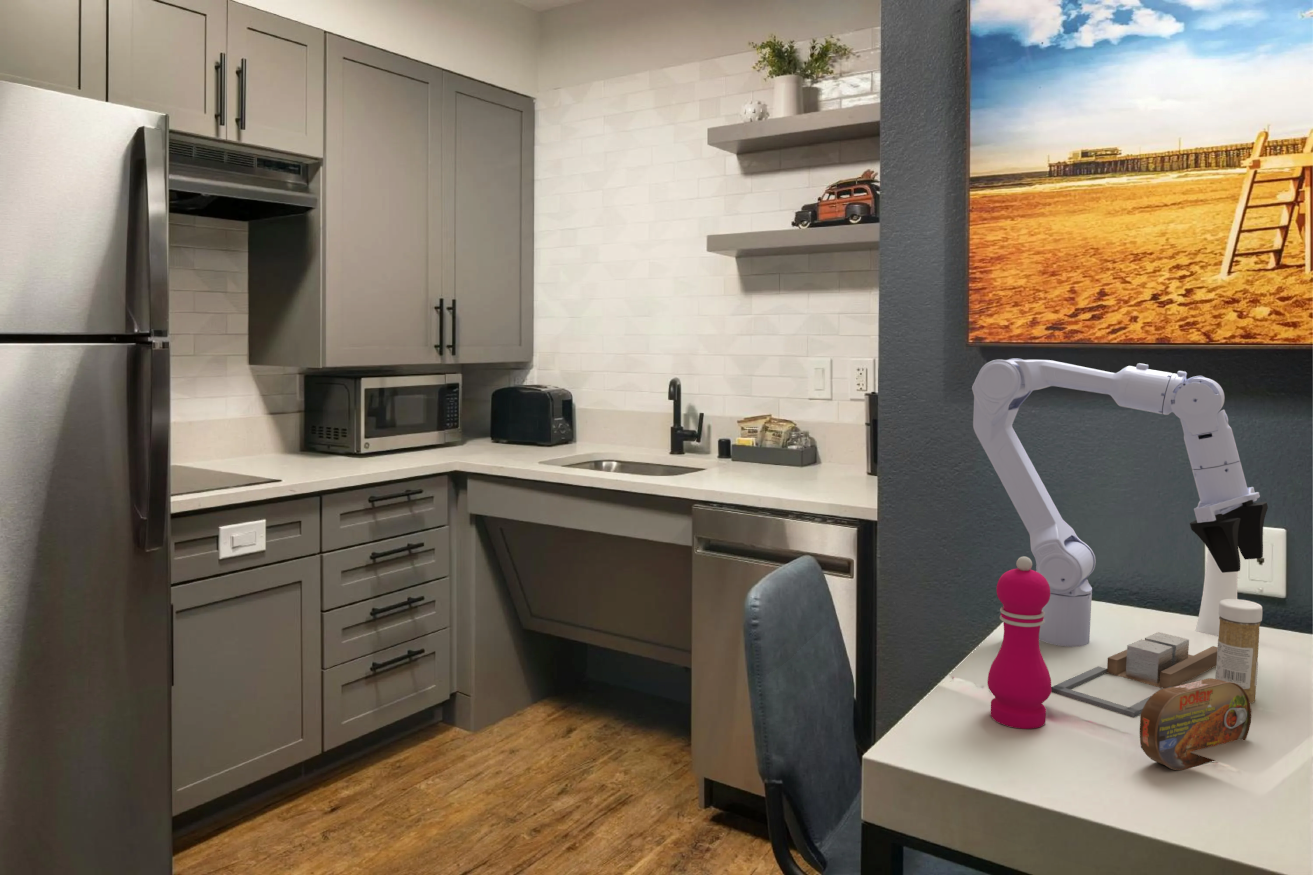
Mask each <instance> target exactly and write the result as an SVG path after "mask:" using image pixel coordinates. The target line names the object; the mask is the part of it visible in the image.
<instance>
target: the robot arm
mask: <svg viewBox="0 0 1313 875" xmlns="http://www.w3.org/2000/svg"><path fill="white" fill-rule="evenodd" d="M1187 375H1188V373H1187V372H1186V371H1183V370H1178V371H1177V373H1173V372H1169V371H1162V370H1156V369H1150V368H1149V364H1148V363H1147V364H1145V363H1140V362H1139V363H1137V364H1136V366H1133V365H1128V366H1125V367H1123V368H1122V369H1121V370H1119V371H1117V372H1112V371H1111V372H1110V371H1105V370H1103V369H1102V370H1101V369H1096V368H1091V367H1085V366H1081V365H1076V364H1072V363H1067V362H1061V361H1056V360H1053V359H1051V360H1050V359H1022V358H1017V357H1016V358H1013V357H1012V358H1009V359H993V360H991V361H988V362H986V363H985V364H984V365H982V367H981V368H980V370H979V371H978V374H977V375H976V378H975V380H974V382H973V383H972V387H971V390H972V394H973V416H972V417H973V419H972V427H973V431H974V433H975V435H976V437H977V439H978V441H979V444H980V445H981V447H982V448H983V450H984V452H985V454H986V455H987V458H988V460H989V461H990V463H991V464H992V465H991V466H993V469H994V471H995V472H996V474H997V476H998V478H999V480H1000V481H1001V484H1002V486H1003V487H1004V489H1005V491H1006V493H1007V495H1008V497H1009V499H1010V500H1011V502H1012V505H1013V506H1014V508H1015V511H1016V512H1017V514H1018V515H1019V518H1020V519H1021V521H1022V523H1023V525H1024V528H1025V529H1026V530H1027V532H1028V534H1029V539H1030V551H1031V553H1032V555H1033V556H1034V560H1035V565H1036V566H1035V567H1036V568H1035V571H1036V572H1038V573H1040V574H1041V575H1043V576H1044V577H1045V578H1046V580H1047V582H1048V584H1049V587H1050V599H1049V601H1048V603H1047V604H1046V605H1045V606H1044V607H1043V608H1042V610H1043V611H1044V612H1045V616H1044V621H1045V622H1044V624H1043V625H1041V626H1040V631H1039V641H1042V642H1044V643H1047V644H1050V645H1055V646H1061V647H1082V646H1083V647H1085V646H1087V645H1088V644H1090V636H1091V616H1092V598H1093V596H1092V595H1093V593H1092V592H1093V587H1092V586H1091V584H1090V583H1089V580H1088V578H1089V576H1090V575H1091V574H1092V573H1093V572H1094V570H1095V568H1096V563H1097V562H1096V561H1097V559H1096V554H1095V553H1094V551H1093V549H1092V547H1090V546H1089V545H1088V544H1087V543H1086V542H1084V541H1083V540H1081V539H1080V538H1079V537H1078V535H1077V534H1076V532H1075V530H1074V528H1073V527H1072V526H1071V525H1069V523H1067V522H1066V521H1065V519H1063V517H1062V515H1061V514H1060V512H1059V510H1058V508H1057V506H1056V505H1055V503H1054V501H1053V499H1052V497H1051V496H1050V494H1049V492H1048V490H1047V488H1046V485H1045V484H1044V483H1043V481H1042V479H1041V477H1040V475H1039V474H1038V472H1037V470H1036V468H1035V466H1034V464H1033V462H1032V460H1031V459H1030V457H1029V455H1028V453H1027V451H1026V450H1025V448H1024V446H1023V444H1022V443H1021V440H1020V438H1019V437H1018V435H1017V433H1016V432H1015V429H1014V428H1013V423H1014V422H1015V419H1016V417H1017V414H1018V412H1019V409H1020V407H1021V405H1022V404H1023V402H1025V401H1026V399H1028V397H1029V396H1030V395H1031V393H1032V392H1033V391H1038V390H1042V389H1046V388H1049V387H1056V388H1057V387H1059V388H1065V389H1070V390H1077V391H1083V392H1084V391H1085V392H1088V393H1097V394H1103V395H1109V396H1110V397H1111V398H1112V399H1113V401H1114V402H1115V403H1116V404H1117V405H1118V406H1119V407H1122V408H1128V409H1133V410H1138V411H1143V412H1150V413H1154V414H1159V415H1164V416H1168V415H1170V414H1172V413H1173V414H1174V415H1175V416H1176V417H1177V418H1179V421H1180V424H1181V426H1182V428H1181V429H1182V431H1183V442H1184V444H1185V448H1186V452H1187V456H1188V460H1189V462H1190V467H1191V471H1192V474H1193V478H1194V482H1195V486H1196V491H1197V493H1198V498H1199V501H1198V503H1197V506H1196V507H1194V508H1193V511H1194V512H1193V513H1194V514H1195V515H1194V516H1195V519H1196V520H1193V521H1191V522H1189V526H1190V527H1189V528H1190V529H1191V531H1192V532H1194V534H1196V535H1197V537H1198V538H1199V539H1200V540H1201V541H1202V542H1203V543H1204V545H1205V547H1206V548H1207V550H1208V549H1209V551H1210V553H1211V554H1212V556H1213V558H1214V560H1215V562H1216V563H1217V565H1218V567H1219V569H1220V570H1221V572H1222V573H1225V572H1237V573H1238V572H1240V571H1241V557H1243V559H1244V560H1257V559H1262V558H1263V557H1264V524H1265V518H1266V514H1267V511H1268V509H1269V506H1268V502H1267V501H1261V502H1256V501H1258V499H1259V498H1260V497H1261V495H1260V492H1259V491H1256V492H1255V487H1254V486H1251V487H1250V486H1249V487H1248V485H1247V481H1246V478H1245V474H1244V470H1243V467H1242V462H1241V459H1240V456H1239V452H1238V448H1237V444H1236V440H1235V436H1234V432H1233V429H1232V427H1231V426H1230V424H1229V417H1228V414H1227V413H1226V410H1225V409H1222V408H1223V406H1224V404H1225V392H1224V390H1223V388H1222V386H1221V385H1220V383H1218V382H1217V381H1215V380H1214V379H1211V378H1208V377H1205V376H1203V375H1196V376H1195V375H1194V376H1192V377H1191V376H1190V377H1189V378H1187ZM1240 554H1241V555H1242V556H1241V557H1240Z"/></svg>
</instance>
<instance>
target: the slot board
mask: <svg viewBox="0 0 1313 875" xmlns="http://www.w3.org/2000/svg"><path fill="white" fill-rule="evenodd" d="M1217 649H1218V646H1215V645H1212V646H1210V647H1209V648H1206V649H1204V650H1202V651H1200V652H1198V653H1196V654H1194V655H1192V654H1189V653H1188V659H1186V660H1183V661H1181V662H1179V663H1177V664H1175V665H1173V666H1171V667H1169V668H1167V669H1165V670H1163V671H1161V672H1160V682H1159V683H1153V682H1150V681H1146V680H1143V679H1139V678H1135V677H1132V676H1128V675H1126V661H1127V649H1125V650H1122V651H1120V652H1118V653H1115V654H1113V655H1112V656H1108V657H1107V665H1106V666H1107V667H1106V668H1107V673H1106V674H1110V675H1115V676H1118V677H1121V678H1125V679H1128V680H1131V681H1136V682H1139V683H1143V684H1146V685H1150V686H1154V687H1157V688H1161V689H1165V688H1167V687H1169V686H1172V687H1174V686H1178V685H1182V684H1185V683H1186V682H1189V681H1190V680H1192V679H1194V678H1195V677H1198V676H1200V675H1201V674H1204V673H1205V672H1208V671H1209V670H1212V669H1213V668H1216V664H1217Z"/></svg>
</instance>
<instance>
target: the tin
mask: <svg viewBox="0 0 1313 875" xmlns="http://www.w3.org/2000/svg"><path fill="white" fill-rule="evenodd" d="M1150 696H1151V697H1150ZM1150 696H1149V697H1150V698H1149V699H1148V701H1147V702H1146V704H1145V705H1144V707H1143V710H1142V712H1141V714H1140V716H1139V717H1140V718H1139V719H1140V720H1139V721H1140V722H1139V741H1140V747H1141V749H1142V750H1143V752H1144V754H1145V755H1146V756H1147V757H1148V758H1149V759H1150V760H1151V761H1154V762H1156V763H1157V764H1161V765H1163V766H1166V767H1167V768H1168V769H1171V770H1174V771H1184V770H1188V769H1191V768H1195V767H1198V766H1201V765H1204V764H1209V763H1213V762H1215V761H1216V760H1215V759H1213V758H1209V757H1206V756H1203V755H1200V754H1197V753H1194V752H1197V751H1199V750H1200V751H1201V750H1204V749H1208V748H1212V747H1215V746H1219V745H1224V744H1227V743H1232V742H1235V741H1240V740H1241V741H1246V740H1247V737H1248V734H1249V732H1250V727H1251V722H1252V707H1251V706H1252V705H1251V703H1250V700H1249V698H1248V695H1247V693H1246V692H1245V690H1244V689H1243V688H1242V687H1241V686H1239V685H1238V684H1236V683H1233V682H1226V681H1222V680H1218V679H1216V678H1213V677H1212V678H1205V679H1200V680H1196V681H1192V682H1188V683H1183V684H1181V685H1178V686H1174V687H1169V688H1165V689H1164V688H1161V689H1159V690H1157V691H1155V693H1153V694H1152V695H1150Z"/></svg>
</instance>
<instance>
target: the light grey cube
mask: <svg viewBox="0 0 1313 875" xmlns="http://www.w3.org/2000/svg"><path fill="white" fill-rule="evenodd" d="M1126 647H1127V648H1126V650H1127V661H1126V675H1128V676H1132V677H1135V678H1139V679H1143V680H1146V681H1150V682H1153V683H1159V682H1160V672H1161V671H1163V670H1165V669H1167V668H1169V667H1171V666H1172V649H1173V647H1171V646H1167V645H1162V644H1158V643H1154V642H1150V641H1146V640H1145V639H1142V638H1141V639H1139V640H1137V641H1134V642H1132V643H1130V644H1128V645H1126Z"/></svg>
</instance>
